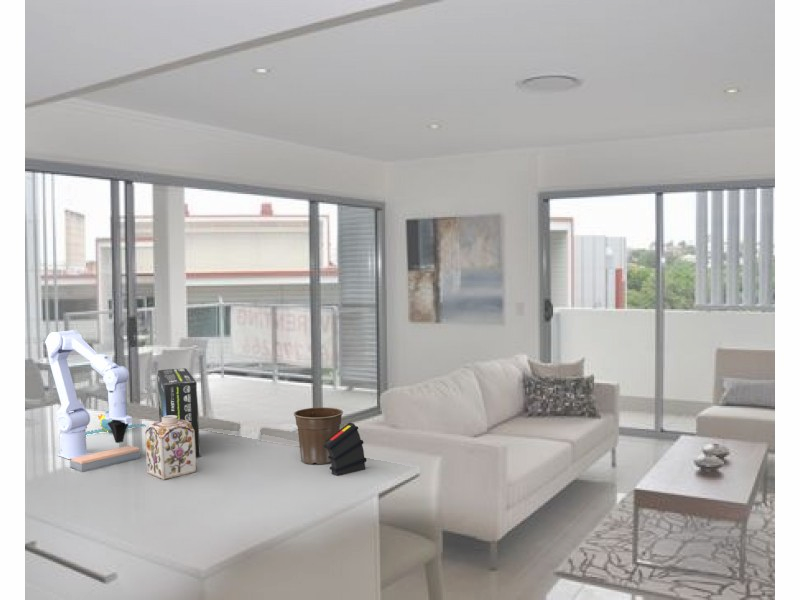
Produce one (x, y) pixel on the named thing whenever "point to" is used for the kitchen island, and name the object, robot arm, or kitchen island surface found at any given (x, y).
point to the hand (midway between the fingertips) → (119, 442)
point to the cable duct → (104, 461)
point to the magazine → (346, 450)
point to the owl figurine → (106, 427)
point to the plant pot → (316, 432)
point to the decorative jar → (170, 448)
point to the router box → (179, 398)
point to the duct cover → (105, 454)
